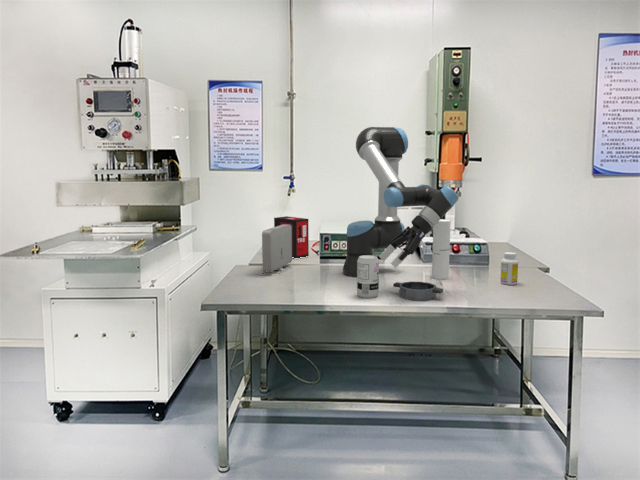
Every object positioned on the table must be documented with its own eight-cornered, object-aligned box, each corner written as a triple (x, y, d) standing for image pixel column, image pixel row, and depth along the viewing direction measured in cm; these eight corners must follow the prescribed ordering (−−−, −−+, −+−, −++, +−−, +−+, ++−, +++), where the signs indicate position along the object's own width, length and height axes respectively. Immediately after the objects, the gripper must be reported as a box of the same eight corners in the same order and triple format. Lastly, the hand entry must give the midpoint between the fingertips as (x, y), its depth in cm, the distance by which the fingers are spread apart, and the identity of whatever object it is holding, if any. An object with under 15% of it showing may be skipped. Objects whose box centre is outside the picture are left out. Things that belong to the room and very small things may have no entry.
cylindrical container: (448, 279, 236) (450, 221, 233) (431, 278, 238) (433, 221, 234) (448, 275, 243) (450, 219, 239) (431, 275, 245) (433, 219, 241)
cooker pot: (386, 296, 209) (387, 285, 208) (402, 288, 220) (402, 279, 219) (434, 303, 198) (434, 293, 198) (448, 295, 210) (448, 285, 209)
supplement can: (355, 293, 214) (355, 255, 211) (376, 292, 214) (377, 254, 212) (358, 298, 206) (359, 259, 203) (380, 298, 206) (381, 258, 204)
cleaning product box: (274, 255, 293) (274, 217, 290) (286, 253, 299) (286, 216, 296) (296, 259, 281) (296, 220, 278) (308, 256, 288) (308, 218, 285)
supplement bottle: (517, 282, 231) (518, 252, 229) (517, 285, 225) (518, 255, 223) (500, 281, 233) (501, 251, 231) (499, 284, 227) (501, 254, 225)
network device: (275, 276, 242) (274, 231, 238) (257, 275, 244) (256, 230, 241) (296, 265, 266) (296, 224, 262) (279, 264, 268) (279, 223, 265)
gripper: (445, 232, 197) (405, 275, 197) (419, 223, 221) (383, 262, 221) (431, 218, 195) (391, 261, 195) (406, 211, 220) (370, 250, 219)
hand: (387, 262), depth 208 cm, fingers open, 13 cm apart
